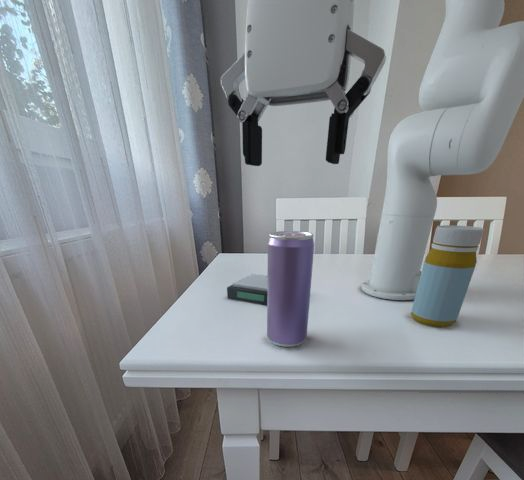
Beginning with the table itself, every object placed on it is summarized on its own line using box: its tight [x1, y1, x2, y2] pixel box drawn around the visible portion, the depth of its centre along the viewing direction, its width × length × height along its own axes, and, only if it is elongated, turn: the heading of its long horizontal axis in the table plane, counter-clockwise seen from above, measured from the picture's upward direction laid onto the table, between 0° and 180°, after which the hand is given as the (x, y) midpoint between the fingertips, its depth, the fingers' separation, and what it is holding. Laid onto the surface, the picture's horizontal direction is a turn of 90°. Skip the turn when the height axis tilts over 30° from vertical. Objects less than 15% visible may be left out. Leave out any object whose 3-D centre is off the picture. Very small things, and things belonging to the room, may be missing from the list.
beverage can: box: [266, 230, 315, 348], centre depth 41 cm, size 6×6×15 cm
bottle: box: [410, 224, 485, 328], centre depth 47 cm, size 7×7×15 cm
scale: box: [226, 273, 268, 306], centre depth 62 cm, size 11×10×3 cm
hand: (290, 164), depth 34 cm, fingers open, 9 cm apart
